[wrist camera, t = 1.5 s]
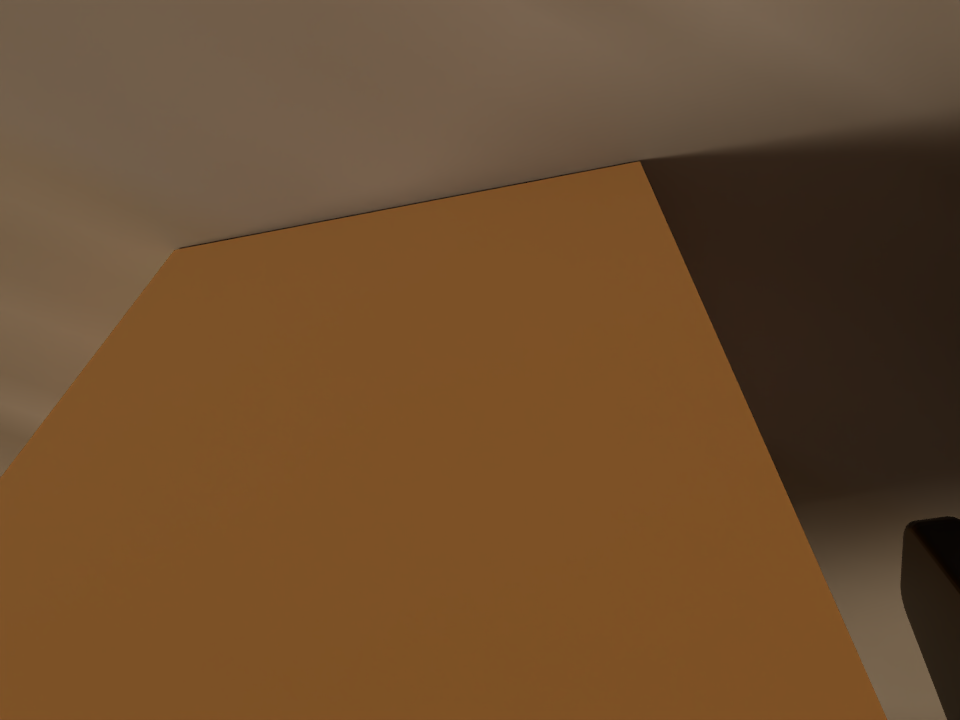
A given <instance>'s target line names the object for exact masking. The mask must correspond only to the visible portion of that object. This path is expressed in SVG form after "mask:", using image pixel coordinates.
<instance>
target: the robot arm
mask: <svg viewBox="0 0 960 720" xmlns="http://www.w3.org/2000/svg"><path fill="white" fill-rule="evenodd" d="M901 595H902V600H903V604H904V608H905V611H906V614H907V616H908V619H909V622H910V624H911V627H912V629H913V632H914V635H915V637H916V640H917V642H918V645H919V648H920V650H921V653H922V655H923V658H924V661H925V663H926V666H927V668H928V671H929V674H930V676H931V679H932V681H933V684H934V687H935V689H936V692H937V694H938V697H939V700H940V702H941V705H942V707H943V710H944V713H945V715H946V718H947V720H960V519H958V518H955V517H950V516H946V517H939V518H931V519H924V520H917V521H913V522H910V523H909V524H908V525H907V526H906V528H905V531H904V535H903V551H902V568H901Z"/></svg>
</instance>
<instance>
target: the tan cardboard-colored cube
mask: <svg viewBox="0 0 960 720" xmlns="http://www.w3.org/2000/svg"><path fill="white" fill-rule="evenodd" d="M0 720H887V718H886V716H885V714H884V711H883V709H882V707H881V705H880V702H879V700H878V698H877V696H876V693H875V691H874V689H873V687H872V684H871V682H870V680H869V678H868V675H867V673H866V671H865V669H864V666H863V664H862V662H861V660H860V657H859V655H858V653H857V650H856V648H855V646H854V644H853V641H852V639H851V637H850V635H849V632H848V630H847V628H846V626H845V623H844V621H843V619H842V617H841V614H840V612H839V610H838V608H837V605H836V603H835V601H834V599H833V596H832V594H831V592H830V590H829V587H828V585H827V583H826V581H825V578H824V576H823V574H822V571H821V569H820V567H819V565H818V562H817V560H816V558H815V556H814V553H813V551H812V549H811V547H810V544H809V542H808V540H807V538H806V535H805V533H804V531H803V529H802V526H801V524H800V522H799V520H798V517H797V515H796V513H795V511H794V508H793V506H792V504H791V502H790V499H789V497H788V495H787V492H786V490H785V488H784V486H783V483H782V481H781V479H780V477H779V474H778V472H777V470H776V468H775V465H774V463H773V461H772V459H771V456H770V454H769V452H768V450H767V447H766V445H765V443H764V441H763V438H762V436H761V434H760V432H759V429H758V427H757V425H756V423H755V420H754V418H753V416H752V413H751V411H750V409H749V407H748V404H747V402H746V400H745V398H744V395H743V393H742V391H741V389H740V386H739V384H738V382H737V380H736V377H735V375H734V373H733V371H732V368H731V366H730V364H729V362H728V359H727V357H726V355H725V353H724V350H723V348H722V346H721V344H720V341H719V339H718V337H717V334H716V332H715V330H714V328H713V325H712V323H711V321H710V319H709V316H708V314H707V312H706V310H705V307H704V305H703V303H702V301H701V298H700V296H699V294H698V292H697V289H696V287H695V285H694V283H693V280H692V278H691V276H690V274H689V271H688V269H687V267H686V265H685V262H684V260H683V258H682V255H681V253H680V251H679V249H678V246H677V244H676V242H675V240H674V237H673V235H672V233H671V231H670V228H669V226H668V224H667V222H666V219H665V217H664V215H663V213H662V210H661V208H660V206H659V204H658V201H657V199H656V197H655V195H654V192H653V190H652V188H651V186H650V183H649V181H648V179H647V176H646V174H645V172H644V170H643V167H642V165H641V163H640V161H638V162H633V163H628V164H623V165H618V166H612V167H607V168H602V169H597V170H591V171H586V172H581V173H576V174H570V175H565V176H560V177H555V178H549V179H544V180H539V181H534V182H528V183H523V184H518V185H513V186H507V187H502V188H497V189H492V190H487V191H481V192H476V193H471V194H466V195H460V196H455V197H450V198H445V199H439V200H434V201H429V202H424V203H418V204H413V205H408V206H403V207H397V208H392V209H387V210H382V211H377V212H371V213H366V214H361V215H356V216H350V217H345V218H340V219H335V220H329V221H324V222H319V223H314V224H308V225H303V226H298V227H293V228H287V229H282V230H277V231H272V232H266V233H261V234H256V235H251V236H246V237H240V238H235V239H230V240H225V241H219V242H214V243H209V244H204V245H198V246H193V247H188V248H183V249H177V250H174V251H173V252H172V254H171V255H170V256H169V258H168V259H167V260H166V262H165V263H164V264H163V266H162V267H161V268H160V269H159V271H158V272H157V273H156V275H155V276H154V277H153V279H152V280H151V281H150V283H149V284H148V285H147V287H146V288H145V289H144V290H143V292H142V293H141V294H140V296H139V297H138V298H137V300H136V301H135V302H134V304H133V305H132V306H131V307H130V309H129V310H128V311H127V313H126V314H125V315H124V317H123V318H122V319H121V321H120V322H119V323H118V325H117V326H116V327H115V328H114V330H113V331H112V332H111V334H110V335H109V336H108V338H107V339H106V340H105V342H104V343H103V344H102V345H101V347H100V348H99V349H98V351H97V352H96V353H95V355H94V356H93V357H92V359H91V360H90V361H89V363H88V364H87V365H86V366H85V368H84V369H83V370H82V372H81V373H80V374H79V376H78V377H77V378H76V380H75V381H74V382H73V383H72V385H71V386H70V387H69V389H68V390H67V391H66V393H65V394H64V395H63V397H62V398H61V399H60V401H59V402H58V403H57V404H56V406H55V407H54V408H53V410H52V411H51V412H50V414H49V415H48V416H47V418H46V419H45V420H44V421H43V423H42V424H41V425H40V427H39V428H38V429H37V431H36V432H35V433H34V435H33V436H32V437H31V439H30V440H29V441H28V442H27V444H26V445H25V446H24V448H23V449H22V450H21V452H20V453H19V454H18V456H17V457H16V458H15V459H14V461H13V462H12V463H11V465H10V466H9V467H8V469H7V470H6V471H5V473H4V474H3V475H2V477H1V478H0Z"/></svg>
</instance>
